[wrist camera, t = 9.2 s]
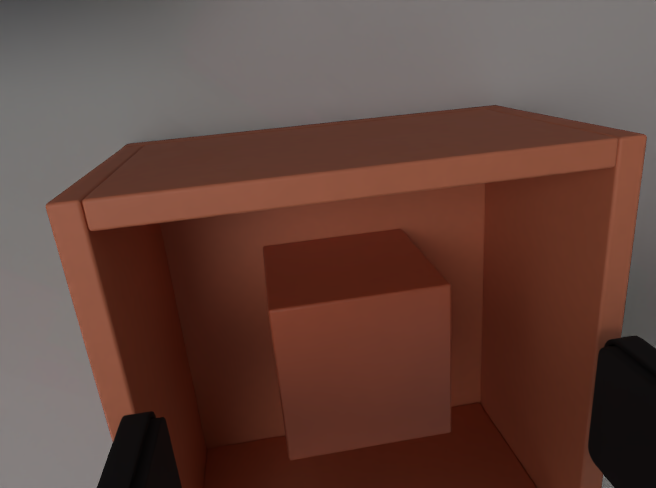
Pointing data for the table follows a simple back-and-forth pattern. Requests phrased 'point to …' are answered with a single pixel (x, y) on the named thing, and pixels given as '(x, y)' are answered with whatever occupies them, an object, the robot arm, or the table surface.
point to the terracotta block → (358, 342)
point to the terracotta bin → (350, 219)
